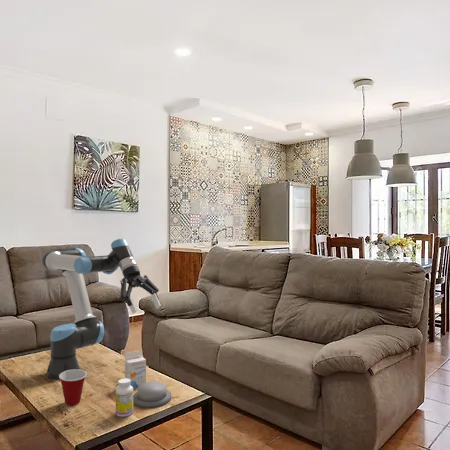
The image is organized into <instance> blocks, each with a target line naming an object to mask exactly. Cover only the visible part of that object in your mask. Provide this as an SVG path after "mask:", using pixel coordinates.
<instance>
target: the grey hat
mask: <svg viewBox="0 0 450 450" xmlns="http://www.w3.org/2000/svg"><path fill="white" fill-rule="evenodd" d="M171 400H172V393H171V391H170V390H168V389H167V384H165V383H164V382H161V381H149V382H148V381H146V383H144V384H141V385H140V386H137V391H136V392H135V393H133V405H135V406H136V407H139V408H144V409H145V408H147V409H153V408H160V407H162V406H165V405H167V404H168V403H170V401H171Z"/></svg>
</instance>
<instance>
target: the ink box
mask: <svg viewBox="0 0 450 450" xmlns="http://www.w3.org/2000/svg"><path fill="white" fill-rule="evenodd" d="M124 354H125V359H124V379H125V378H127V379H130V380H131V383H130V385H131V386H132V387H133V388H136V387H137V388H138V386H140V385H141V384H144V383H147V359H146V358H144V356H143V350H136V351H129V352H126V353H124Z"/></svg>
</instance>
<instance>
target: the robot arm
mask: <svg viewBox="0 0 450 450" xmlns="http://www.w3.org/2000/svg"><path fill="white" fill-rule="evenodd" d="M110 246H111V251H110V253H109V254H108V255H107V254H106V255H96V256H87V254H86V252H85V251H84V250H83V249H82V248H80V247H66V248H63V247H62V248H51V249H49V250H47V251H45V252H44V253H43V254H42V257H41V260H40V262H41V265H42V267H43V268H45V269H46V270H48V271H61V274H62V276H64V277H66V278H65V279H66V282H67V285H68V286H67V287H68V290H69V295H70V296H69V297H70V299H71V304H72V308H73V309H72V310H73V313H74V317H75V320H74V322H73V323H72V322H70V323H63V324H60V325H57V326H55V327H54V328H52V330H51V332H50V337H49V340H50V360H49V363H48V366H47V370H46V377H48V378H49V379H54V380H59V379H60V378H59V375H60V374H61V373H62V372H64V371H67V370H74V369H77V370H81V369H80V367H81V366H80V364H79V361H78V358H77V350H79V349H82V348H86V347H90V346H91V347H92V346H94V345H96V344H100V343H101V342H102V340H103V339H104V335H105V327H104V323H102V321H100V320H98V319H97V316H96V315H94V314H93V311H92V306H91V302H90V299H89V294H88V289H87V286H86V280H85V277H84V274H91V273H100V272H101V273H103V274H106V275H112V274H114V272H116V271H117V270H118V269H120V271H121V272H122V276H123V278H122V279H121V280H119V282H120V300H123V301H124V302H126V305H127V307H129V308H130V310H131V311H130V312H131V313H132V314H135V313H136V312H137V311H138V309H137V307H136V305H135V303H134V300H133V297H131V293H132V292H133V291H132V290H133V288H142V289H143V290H145V291H146V292H147V293H149V294H150V295H151V296H150V297H151V299H152V301H153V304H154V306H155V308H156V309H159V308H160V307H161V306H162V304H161V302H160V300H159V299H160V298H159V296H158V294H157V293H158V292H159V291H160V289H159V288H158V287H157V286H156V285H155V284H154V282H152V281H151V280H150V278H149V277H148V276H147V274H144V275H143V276H142V275H141V271H140V269H139V266H138V265H137V262H136V260H135V257H134V255H133V253H132V250H131V248H130V245H129V243H128V242H127V240H126V239H125V238H116V239H115V240H113V241H112V242H111V244H110ZM127 284H128V286H127Z"/></svg>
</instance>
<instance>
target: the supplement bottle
mask: <svg viewBox="0 0 450 450" xmlns="http://www.w3.org/2000/svg"><path fill="white" fill-rule="evenodd" d="M130 383H131V380H130V379H127V378H125V377H124V378H121V379H119V380H118V381H117V384H118V386H117V387H116V389H115V415H116V416H118V417H119V418H120V417H122V418H123V417H124V418H125V417H129V416H131V415H132V414H133V413H134V403H133V395H134V387H132V386H131V385H130Z"/></svg>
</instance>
